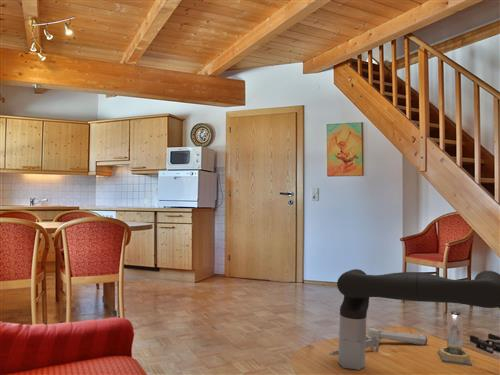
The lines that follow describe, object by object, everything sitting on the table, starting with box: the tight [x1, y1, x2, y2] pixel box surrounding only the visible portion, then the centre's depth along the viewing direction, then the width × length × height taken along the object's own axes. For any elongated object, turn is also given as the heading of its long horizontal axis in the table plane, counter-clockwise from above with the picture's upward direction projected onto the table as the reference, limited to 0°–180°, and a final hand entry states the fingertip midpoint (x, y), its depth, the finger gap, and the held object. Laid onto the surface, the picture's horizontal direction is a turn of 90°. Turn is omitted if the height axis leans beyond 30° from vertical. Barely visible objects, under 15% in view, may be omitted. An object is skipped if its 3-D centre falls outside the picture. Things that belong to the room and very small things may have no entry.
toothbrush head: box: [366, 327, 428, 346], centre depth 168 cm, size 5×7×25 cm
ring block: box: [437, 345, 473, 367], centre depth 154 cm, size 10×10×3 cm
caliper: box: [329, 335, 380, 356], centre depth 157 cm, size 20×1×6 cm, turn 105°
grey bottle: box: [446, 310, 464, 355], centre depth 154 cm, size 5×5×17 cm
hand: (479, 337), depth 144 cm, fingers open, 8 cm apart
